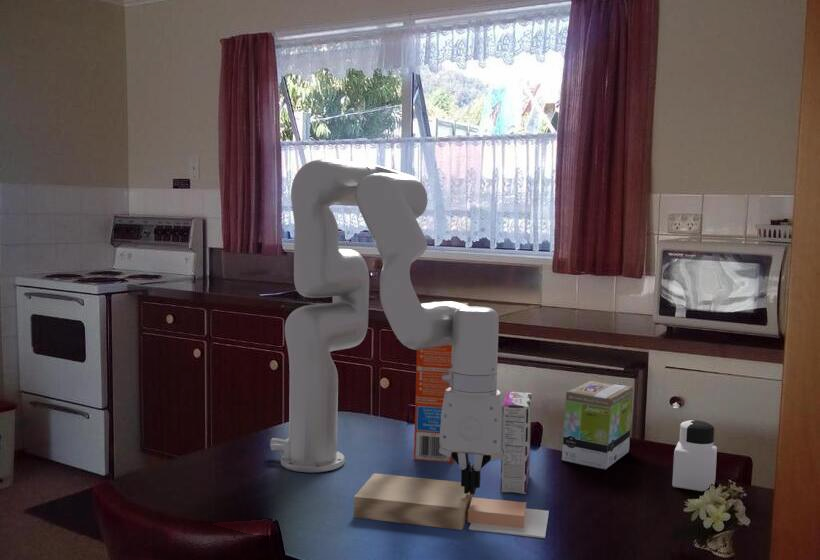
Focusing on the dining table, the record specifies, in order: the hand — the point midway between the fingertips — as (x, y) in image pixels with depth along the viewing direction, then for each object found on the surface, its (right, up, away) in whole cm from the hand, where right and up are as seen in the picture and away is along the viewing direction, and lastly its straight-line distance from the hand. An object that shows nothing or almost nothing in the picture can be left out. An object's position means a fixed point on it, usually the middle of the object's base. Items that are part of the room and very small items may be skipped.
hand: (470, 491), depth 129 cm
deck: (-9, -4, +2) cm, 10 cm away
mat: (+6, -5, -1) cm, 8 cm away
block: (+4, -4, -1) cm, 6 cm away
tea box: (+29, -2, +35) cm, 45 cm away
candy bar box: (+10, -3, +17) cm, 20 cm away
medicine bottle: (+44, -4, +19) cm, 48 cm away
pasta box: (-3, -1, +40) cm, 40 cm away
